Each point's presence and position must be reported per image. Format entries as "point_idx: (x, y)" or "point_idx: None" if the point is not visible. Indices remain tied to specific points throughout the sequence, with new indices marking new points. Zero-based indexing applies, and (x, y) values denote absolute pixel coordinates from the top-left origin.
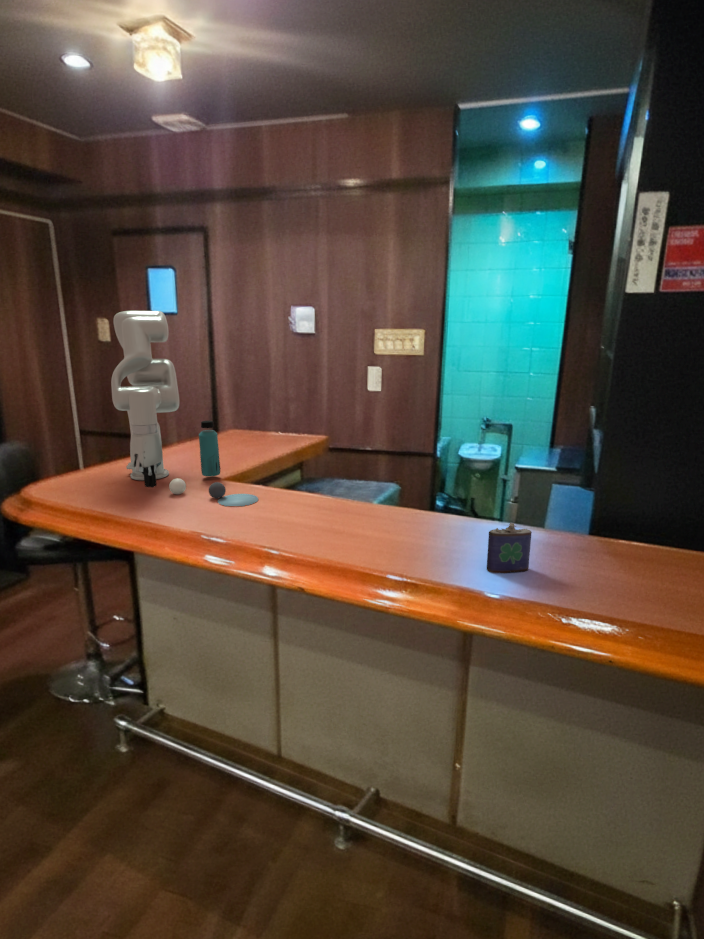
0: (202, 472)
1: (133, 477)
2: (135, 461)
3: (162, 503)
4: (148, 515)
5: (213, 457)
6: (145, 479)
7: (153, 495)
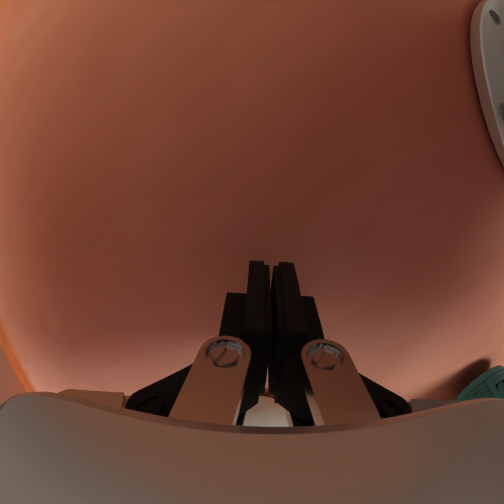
0: (475, 392)
1: (478, 18)
2: (55, 482)
3: (130, 391)
4: (48, 382)
5: None
6: (221, 326)
7: (197, 326)
